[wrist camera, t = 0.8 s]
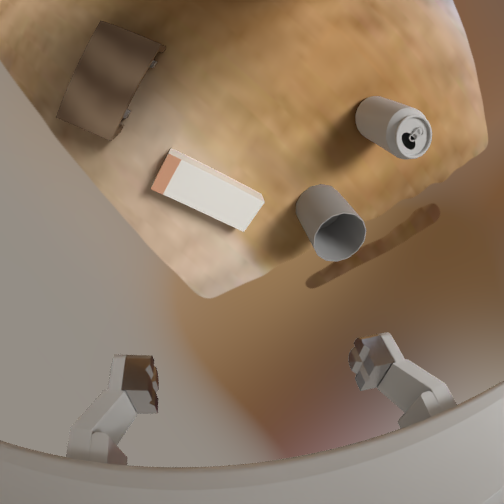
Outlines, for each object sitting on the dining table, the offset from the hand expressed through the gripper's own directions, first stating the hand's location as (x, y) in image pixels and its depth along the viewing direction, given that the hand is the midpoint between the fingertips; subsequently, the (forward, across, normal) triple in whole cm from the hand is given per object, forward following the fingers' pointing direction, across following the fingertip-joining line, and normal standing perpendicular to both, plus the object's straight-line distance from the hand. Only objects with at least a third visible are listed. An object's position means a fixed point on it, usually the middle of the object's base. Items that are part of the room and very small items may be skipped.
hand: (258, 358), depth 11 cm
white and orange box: (+38, +1, +8) cm, 39 cm away
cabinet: (+38, +14, -10) cm, 41 cm away
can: (+38, -25, -5) cm, 45 cm away
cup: (+38, -18, +12) cm, 44 cm away
